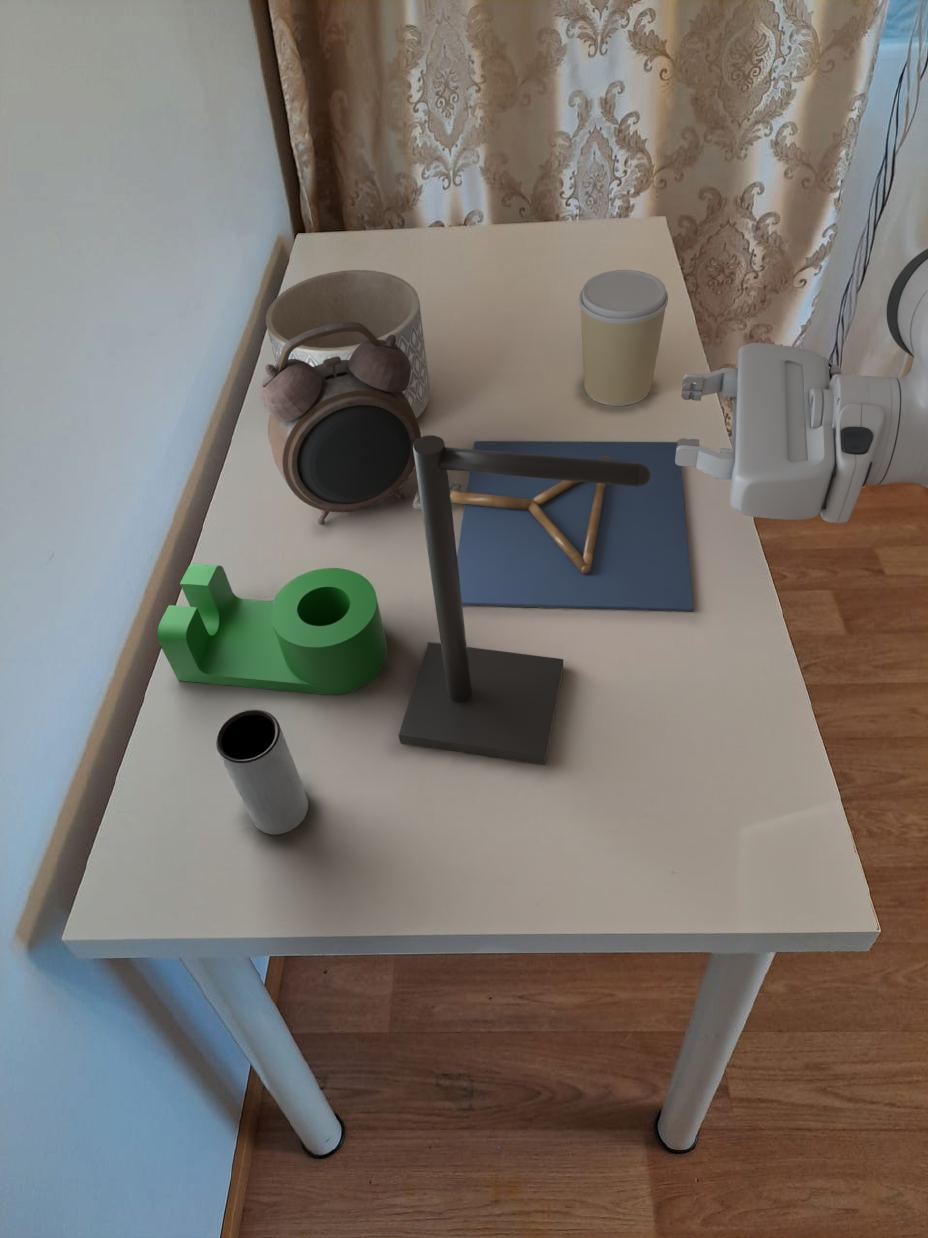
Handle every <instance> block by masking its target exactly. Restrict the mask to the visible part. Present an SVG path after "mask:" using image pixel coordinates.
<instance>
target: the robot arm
mask: <svg viewBox="0 0 928 1238" xmlns="http://www.w3.org/2000/svg"><path fill="white" fill-rule="evenodd" d="M886 323H887V327H888V330H889V333H890V335H891V337H892V339H893V340H894V342H895V343H896V345H897V346H898V347H899V348H900V349H901V350H903V352H905V353H907V354H908V355H910V356H911V357H912V358H913V359H912V364H911V368H910V371H909V372H908V373H907V374H906V375H905V376H902V377H893V376H878V375H874V376H873V375H857V374H843V372H842V368H841V367H840V365H836V364H834V363H833V362H831V361H830V360H829V359H828V358H827V357H825V356H822V355H821V354H820V353H818V352H816V351H814V350H811V349H808V348H802V347H796V346H791V345H783V344H775V343H766V342H750V343H747V344H744V345H742V346H740V347H739V348H738V351H737V355H736V361H735V367H721V368H719V369H716V370H713V371H709V372H706V373H703V374H699V373H698V374H695V373H687V374H685V375H683V377H682V385H681V398H682V400H684V401H690V400H692V401H698V402H700V401H702V397H703V396H709V395H714V394H718V393H720V396H721V397H729V398H733V399H732V421H731V423H732V424H731V425H732V427H731V448H726V447H725V448H723V447H722V448H720V451H716V450H713V449H711V448H708V447H705V446H704V445H703V446H702V445H700V439H699V438H690V439H688V438H685V437H684V438H683V437H682V438H678V440H677V441H676V442H677V447H676V456H675V463H676V464H677V465H678V466H681V467H689V468H696V470H699V471H701V472H702V473H705V474H706V475H708V476H711V477H712V478H714V479H716V480H727V481H730V484H729V485H730V486H729V488H730V489H729V506H730V507H731V508H732V509H733V510H735V511H737V512H738V513H740V514H742V515H744V516H748V517H753V518H763V519H769V520H770V519H771V520H787V521H804V520H811V519H814V518H815V517H817V516H818V515H820V517H821V519H822V520H823V521H825V522H827V523H832V524H845V523H847V522H848V521H850V518H851V516H852V514H853V511H854V508H855V505H856V504H857V501H858V499H859V496H860V494H861V492H862V489H863V488H864V487H865V486H866V485H871V486H873V485H874V486H886V485H891V484H897V483H898V484H900V483H901V484H902V483H905V484H913V485H917V486H920V487H922V488H925V489H928V248H926V249H923V250H922V251H921V252H919V253H918V254H917V255H915V256H914V257H913V258H912V259H911V260H910V261H909V262H908V263H907V264H906V265H905V266H904V267H903V268H902V270H901V271H900V273H898V275H897V277H896V278H895V280H894V282H893V285H892V286H891V289H890V292H889V295H888V298H887V303H886Z"/></svg>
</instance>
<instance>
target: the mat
mask: <svg viewBox="0 0 928 1238" xmlns="http://www.w3.org/2000/svg"><path fill="white" fill-rule="evenodd" d="M676 447H677V441H574V440H573V441H555V440H551V441H550V440H549V441H548V440H546V441H545V440H544V441H543V440H542V441H541V440H540V441H539V440H537V441H536V440H474V441H473V447H472V450H484V451H497V452H509V453H521V454H533V455H545V456H557V457H569V458H581V459H593V460H599V459H600V458H602V457H604V456H608V457H609V458H610V461H617V462H629V463H640V464H644V465H646V466H647V467H648V468H649V470H650V479H649V481H648V483H647V484H645V485H644V486H641V487H634V486H623V485H611V484H606V488H605V494H604V500H603V505H602V511H601V516H600V522H599V527H598V533H597V538H596V544H595V549H594V555H593V560H592V566H591V571H590V572H589V573H588V574H583V573H581V572H580V570H579V569H578V568H577V567H576V566H575V564H574V563H573V562H572V561H571V560H570V558H569V557H568V556H567V555H566V554H565V552H564V551H563V550H562V549H561V548H560V547H559V545H558V544H557V543H556V542H555V541H554V539H553V538H552V537H551V536H550V535H549V533H548V532H547V531H546V530H545V529H544V527H543V526H542V525H541V524H540V523H539V522H538V520H537V519H536V518H535V517H534V516H533V514H532V513H531V512H530V511H525V510H516V509H506V508H497V507H487V506H478V505H469V504H464V508H463V514H462V520H461V526H460V535H459V539H458V540H459V541H458V546H457V561H458V570H459V580H460V589H461V598H462V606H475V607H476V606H477V607H478V606H480V607H509V608H511V607H512V608H516V607H517V608H545V609H546V608H547V609H550V608H553V609H582V610H583V609H586V610H587V609H588V610H589V609H590V610H593V609H594V610H619V611H620V610H622V611H623V610H626V611H627V610H628V611H658V612H661V611H662V612H663V611H664V612H694V602H693V601H694V600H693V591H692V589H693V588H692V578H691V577H692V576H691V567H690V554H689V543H688V532H687V531H688V530H687V520H686V511H685V509H686V508H685V496H684V486H683V476H682V466H678V465H677V464H676V463H675V456H676ZM561 481H563V480H554V479H543V478H532V477H520V476H509V475H497V474H486V473H475V472H468V480H467V487H466V492H468V493H478V494H487V495H497V496H507V497H516V498H526V499H533V498H534V497H536V496H538V495H539V494H541V493H543V492H544V491H546V490H548V489H550V488H551V487H553V486H555V485H556V484H558V483H560V482H561ZM595 488H596V483H589V482H579V483H577V484H575V485H574V486H572V487H570V488H569V489H567V490H565V491H564V492H562V493H560V494H559V495H557V496H555V497H554V498H552V499H550V500H549V501H547V502H545V503H544V504H542V505H540V506H539V507H540V508H541V509H542V511H543V512H544V513H545V514H546V515H547V516H548V518H549V519H550V520H551V521H552V522H553V523H554V525H555V526H556V527H557V528H558V529H559V530H560V532H561V533H562V534H563V535H564V536H565V537H566V539H567V540H568V541H569V542H570V543H571V544H572V546H573V547H574V548H575V549H576V550H577V551H578V553H579V554H580V555H581V556H583V551H584V545H585V540H586V535H587V530H588V525H589V519H590V514H591V509H592V504H593V499H594V493H595Z"/></svg>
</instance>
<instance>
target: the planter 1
mask: <svg viewBox="0 0 928 1238" xmlns="http://www.w3.org/2000/svg"><path fill="white" fill-rule="evenodd" d="M282 730H283V729H282V728H281V726H280V723H279V721H278V720H277V718H276V717H275V716H274V715H273V714H271V712H268V711H265V710H262V709H247V710H243V711H239V712H237V713H235V714H233V715H231V716H230V717H229V718H228V719H226V720H225V721H224V722H223V723H222V725H221V726H220V728H219V729H218V731H217V733H216V737H215V747H216V750H217V753H218V754H219V757H220V759H221V761H222V763H223V765H224V767H225V769H226V771H227V773H228V775H229V777H230V779H231V781H232V783H233V786H234V787H235V789H236V791H237V793H238V795H239V798H240V799H241V801H242V803H243V805H244V807H245V810H246V811H247V814H248V815H249V817H250V819H251V821H252V822H253V825H254V826H255V827H256V828H257V829H258V830H260V831H261V832H263V833H264V834H268V835H283V834H286V833H288V832H291V831H292V830H294V829H296V828H297V827H298V826H299V825H300V824H302V822H303V821H304V819H305V818H306V815H307V814H308V810H309V799H308V795H307V793H306V790H305V787H304V784H303V782H302V779H301V777H300V774H299V771H298V769H297V767H296V766H297V765H296V764H295V761H294V759H293V756H292V754H291V750H290V748H289V746H288V743H287V741H286V737H285V736H284V732H283V731H282Z"/></svg>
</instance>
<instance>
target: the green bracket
mask: <svg viewBox="0 0 928 1238" xmlns="http://www.w3.org/2000/svg"><path fill="white" fill-rule="evenodd" d="M179 585H180V587H181V589H182V591H183V593H184V596H185V598H186V601H187V602H188V605H189V606H185V605H174V604H173V605H172V604H168V605H167V608H166V610H165V611H164V614H163V616H162V618H161V620H160V622H159V624H158V627H157V641H158V643H159V645H160V647H161V650H162V652H163V654H164V656H165V657H166V659H167V661H168V663H169V665H170V668H171V669H172V671H173V674H174V676H175V677H176V679H177V681H180V682H188V683H189V682H190V683H200V684H209V685H210V684H212V685H222V686H229V687H230V686H231V687H242V688H251V689H263V690H272V691H273V690H274V691H284V692H295V693H305V694H315V695H324V696H334V695H342V694H346V693H350V692H353V691H356V690H357V689H360V688H361V687H363V686H365V685H366V684H368V683H369V682H371V681H372V680H374V678H375V677H376V676H377V675H378V674H379V673H380V672H381V670H382V668H383V667H384V665H385V662H386V659H387V656H388V644H387V640H386V635H385V630H384V625H383V620H382V616H381V611H380V607H379V602H378V597H377V592H376V590H375V588H374V586H373V584H372V583H371V582H370V581H369V579H367V578H366V577H365V576H363V575H362V574H360V573H359V572H356V571H353V570H350V569H346V568H340V567H325V568H318V569H314V570H310V571H308V572H305V573H303V574H300V575H298V576H296V577H294V578H293V579H291V580H290V581H288V583H286V584H285V585H284V586H283V587H282V588H281V589H280V590H279V591H278V593H277V594H276V596H275V597H274V598H273V601H272V600H259V599H258V600H256V599H246V598H245V599H244V598H240V597H238V596H237V595H236V594H235V593H234V591H233V589H232V586H231V584H230V581H229V578H228V577H227V573H226V571H225V569H224V567H223V566H222V565H219V564H218V565H217V564H205V563H204V564H203V563H191V564H189V565H188V567H187V569H186V571H185V573H184V575H183V576H182V578H181V581H180V583H179Z"/></svg>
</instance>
